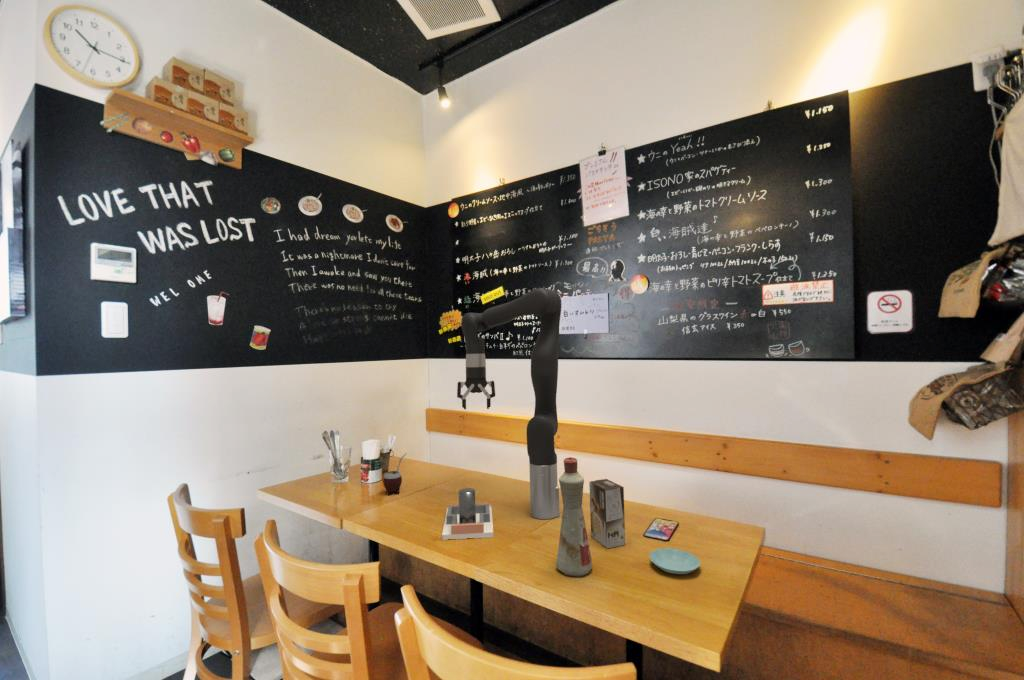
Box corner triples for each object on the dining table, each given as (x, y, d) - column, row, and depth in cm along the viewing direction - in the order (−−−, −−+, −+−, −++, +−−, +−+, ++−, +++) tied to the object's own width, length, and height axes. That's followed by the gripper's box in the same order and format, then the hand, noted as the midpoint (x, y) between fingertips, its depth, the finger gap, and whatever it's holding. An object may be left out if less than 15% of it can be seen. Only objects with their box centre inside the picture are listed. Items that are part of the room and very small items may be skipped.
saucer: (704, 563, 112) (703, 554, 112) (694, 585, 102) (694, 575, 102) (656, 553, 118) (656, 544, 118) (643, 572, 108) (643, 562, 108)
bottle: (553, 561, 114) (550, 453, 115) (587, 559, 115) (585, 451, 116) (559, 579, 106) (556, 461, 106) (596, 576, 106) (593, 460, 107)
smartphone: (642, 535, 128) (655, 517, 141) (642, 538, 128) (655, 520, 141) (668, 540, 124) (679, 521, 137) (668, 544, 124) (679, 524, 137)
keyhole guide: (491, 510, 152) (491, 498, 152) (493, 537, 130) (493, 523, 130) (447, 512, 151) (447, 500, 151) (441, 540, 129) (441, 526, 129)
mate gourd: (379, 495, 171) (379, 456, 171) (392, 488, 178) (392, 451, 178) (395, 497, 168) (394, 457, 168) (407, 490, 175) (407, 452, 175)
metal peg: (476, 523, 136) (475, 487, 137) (476, 530, 131) (475, 493, 132) (460, 524, 136) (458, 488, 136) (459, 531, 131) (458, 494, 131)
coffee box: (626, 545, 123) (625, 487, 123) (606, 549, 121) (605, 490, 121) (608, 532, 132) (606, 478, 132) (589, 536, 129) (588, 481, 130)
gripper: (456, 366, 162) (457, 410, 162) (494, 365, 163) (495, 409, 163) (457, 365, 170) (458, 408, 169) (494, 365, 171) (495, 407, 170)
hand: (476, 408), depth 166 cm, fingers open, 8 cm apart
